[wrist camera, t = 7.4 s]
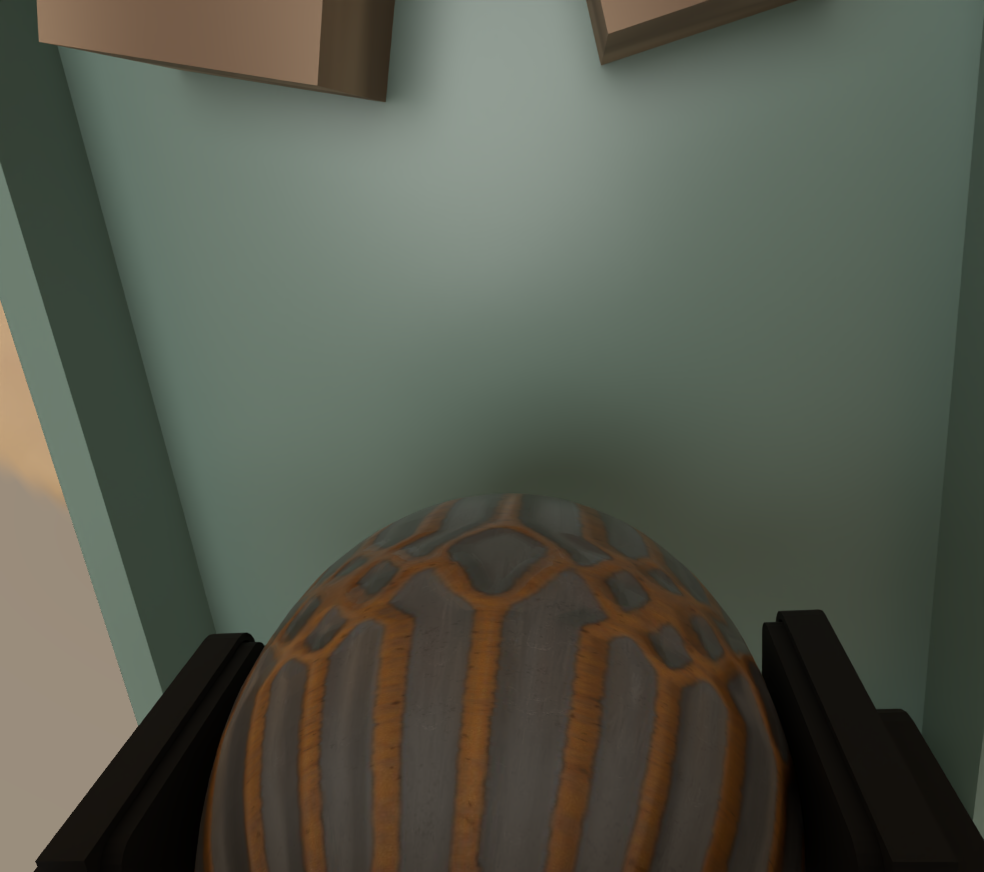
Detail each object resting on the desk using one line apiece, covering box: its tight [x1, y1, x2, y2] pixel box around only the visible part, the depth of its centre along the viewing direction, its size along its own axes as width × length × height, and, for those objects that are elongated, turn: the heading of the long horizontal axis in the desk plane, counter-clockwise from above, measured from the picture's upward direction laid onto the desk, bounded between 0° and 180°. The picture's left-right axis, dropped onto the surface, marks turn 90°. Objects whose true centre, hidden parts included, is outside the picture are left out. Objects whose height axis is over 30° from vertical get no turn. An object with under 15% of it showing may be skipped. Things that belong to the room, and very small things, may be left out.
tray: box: [0, 0, 984, 839], centre depth 15 cm, size 18×22×3 cm
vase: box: [194, 493, 806, 872], centre depth 9 cm, size 7×7×9 cm
